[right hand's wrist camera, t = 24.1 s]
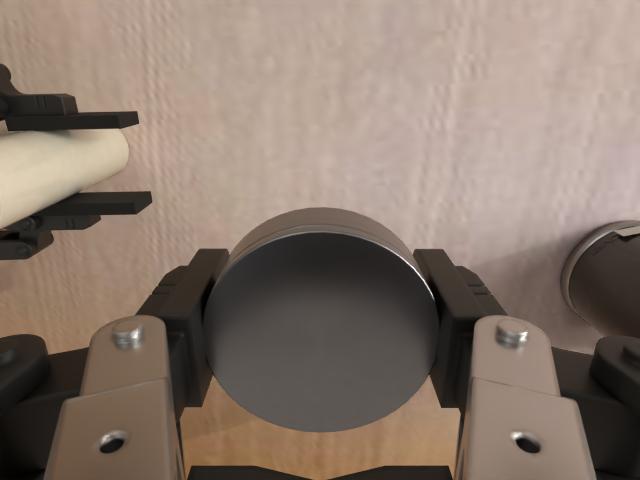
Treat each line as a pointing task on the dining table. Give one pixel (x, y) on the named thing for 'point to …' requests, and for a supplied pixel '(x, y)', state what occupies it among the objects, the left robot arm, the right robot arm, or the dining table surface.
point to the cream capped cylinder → (54, 167)
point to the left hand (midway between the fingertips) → (136, 162)
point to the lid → (321, 321)
